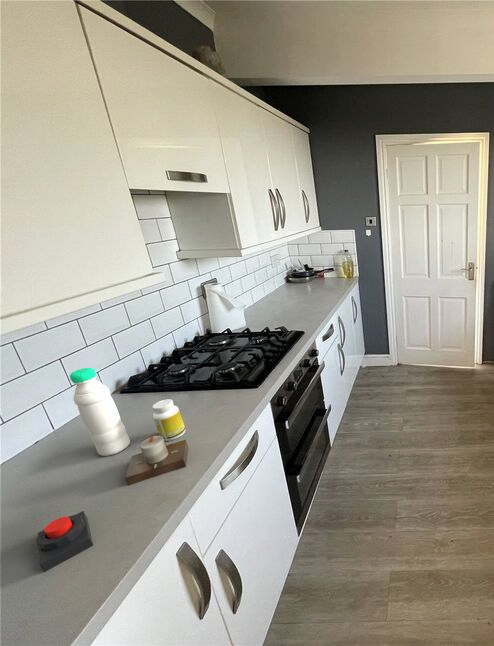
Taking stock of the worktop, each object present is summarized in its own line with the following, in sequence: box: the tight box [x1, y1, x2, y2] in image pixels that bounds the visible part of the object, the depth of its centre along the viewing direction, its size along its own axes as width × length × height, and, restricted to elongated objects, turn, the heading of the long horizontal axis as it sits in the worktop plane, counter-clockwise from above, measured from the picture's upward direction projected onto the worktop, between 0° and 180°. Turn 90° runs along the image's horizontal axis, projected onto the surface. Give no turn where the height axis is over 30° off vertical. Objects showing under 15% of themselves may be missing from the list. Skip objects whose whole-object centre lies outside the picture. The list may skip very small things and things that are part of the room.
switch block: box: [36, 510, 94, 573], centre depth 71 cm, size 10×7×4 cm
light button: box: [43, 516, 73, 539], centre depth 70 cm, size 4×4×2 cm
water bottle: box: [69, 367, 131, 457], centre depth 94 cm, size 7×7×25 cm
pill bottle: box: [152, 398, 187, 442], centre depth 102 cm, size 6×6×11 cm
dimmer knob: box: [139, 435, 168, 464], centre depth 90 cm, size 5×5×5 cm
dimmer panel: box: [124, 439, 189, 486], centre depth 92 cm, size 12×9×3 cm
